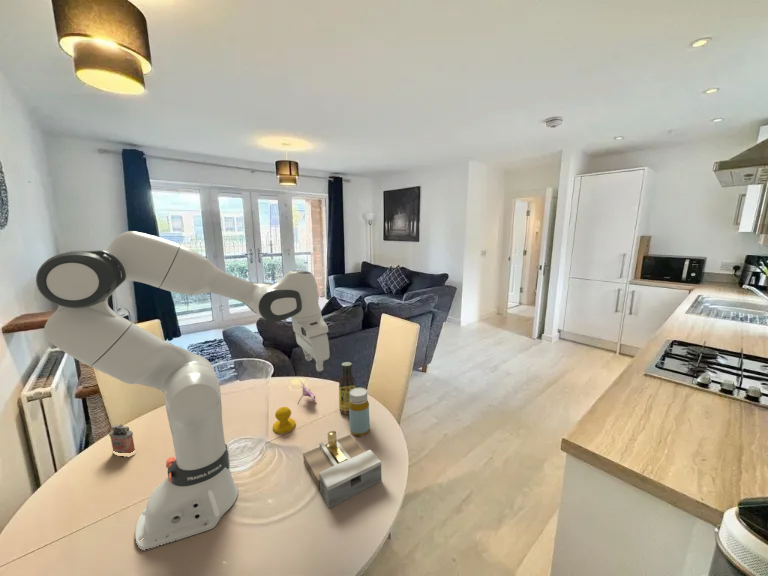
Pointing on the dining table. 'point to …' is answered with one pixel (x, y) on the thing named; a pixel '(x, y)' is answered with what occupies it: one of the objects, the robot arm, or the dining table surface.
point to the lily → (306, 392)
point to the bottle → (359, 412)
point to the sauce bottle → (345, 387)
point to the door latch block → (342, 470)
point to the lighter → (122, 439)
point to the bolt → (335, 448)
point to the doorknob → (283, 421)
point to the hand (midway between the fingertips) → (314, 364)
